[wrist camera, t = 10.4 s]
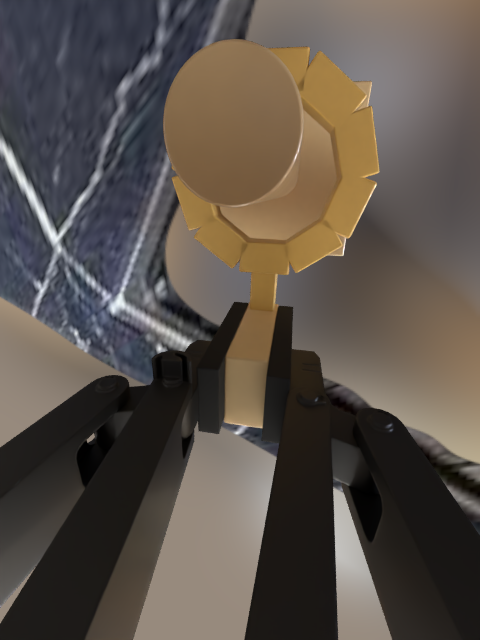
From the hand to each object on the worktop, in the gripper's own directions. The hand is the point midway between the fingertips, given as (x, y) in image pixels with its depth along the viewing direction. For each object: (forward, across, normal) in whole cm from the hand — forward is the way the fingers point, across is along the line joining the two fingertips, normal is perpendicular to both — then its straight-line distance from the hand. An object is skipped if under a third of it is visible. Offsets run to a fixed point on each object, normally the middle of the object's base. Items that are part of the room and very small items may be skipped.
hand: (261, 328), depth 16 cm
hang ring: (0, 0, +5) cm, 5 cm away
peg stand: (+7, 0, +8) cm, 10 cm away
